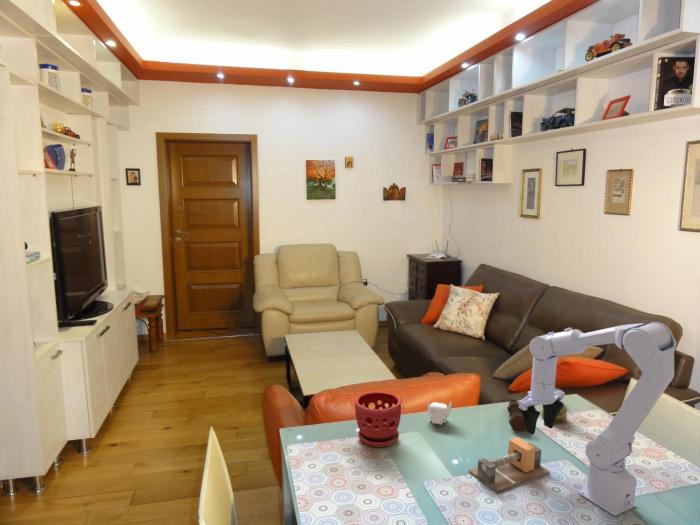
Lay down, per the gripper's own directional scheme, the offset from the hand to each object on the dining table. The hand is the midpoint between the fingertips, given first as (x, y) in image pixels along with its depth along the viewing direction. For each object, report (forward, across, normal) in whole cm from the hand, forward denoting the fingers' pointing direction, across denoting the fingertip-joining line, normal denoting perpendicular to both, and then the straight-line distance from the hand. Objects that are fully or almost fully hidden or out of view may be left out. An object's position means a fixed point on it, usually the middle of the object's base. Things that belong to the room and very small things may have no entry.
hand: (539, 429), depth 132 cm
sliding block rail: (+9, +10, 0) cm, 14 cm away
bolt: (+10, -14, -20) cm, 26 cm away
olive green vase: (+10, -25, -15) cm, 31 cm away
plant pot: (+10, +31, -30) cm, 44 cm away
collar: (+9, +6, 0) cm, 11 cm away
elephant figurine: (+10, +9, -30) cm, 33 cm away
